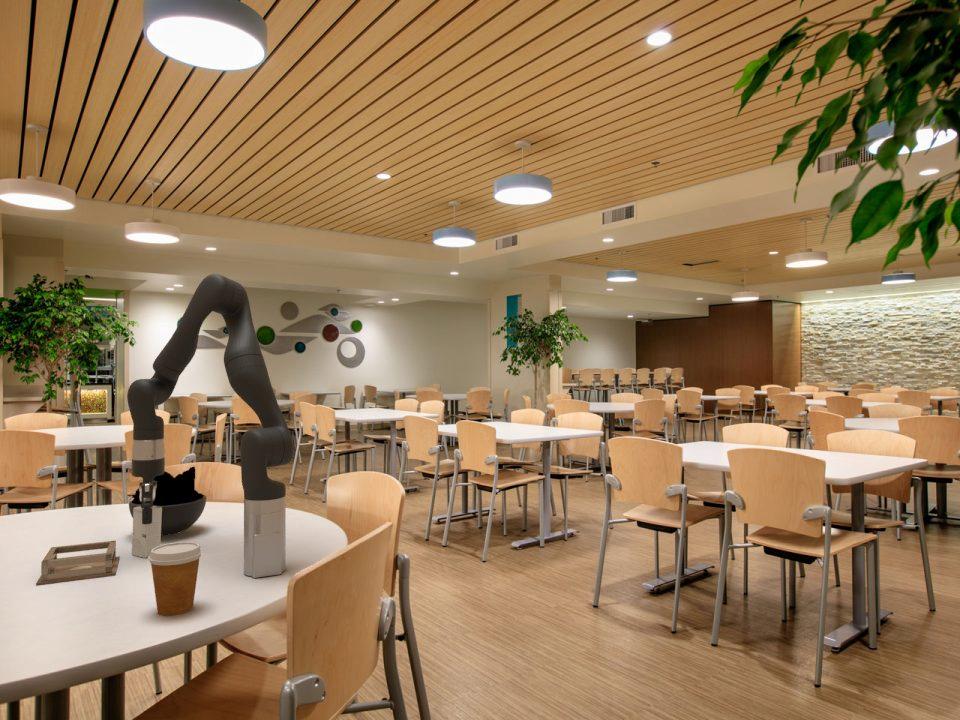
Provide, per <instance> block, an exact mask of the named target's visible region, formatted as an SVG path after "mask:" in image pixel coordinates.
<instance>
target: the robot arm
mask: <svg viewBox="0 0 960 720" xmlns="http://www.w3.org/2000/svg"><path fill="white" fill-rule="evenodd" d="M212 312H214V313H217V314H220V315H221V317H222V318H223V320H224V323H225V326H226V329H227V334H228V339H227V343H226V347H225V349H224V355H223V365H224V369H225V373H226V376H227V379H228V383H229V385H230V387H231V388H232V390H233V391H234V392H235V394H236V395H237V396H239V398H240V399H241V400H242V401H243V402H244V403H245V404H246V405H248V406H249V408H250V409H251V410H252V411H253V412H254V413H255V414H256V416H257V417H258V420H259V421H260V424H261V428H251V429H248V430H246V431H245V432H244V433H243V435H242V436H241V441H240V446H239V449H240V450H239V451H240V452H239V455H240V467H241V469H240V473H241V485H242V490H243V497H244V498H243V574H244V575H245V576H248V577H252V578H253V579H256V578H263V577H269V576H276V575H277V576H278V575H282V573H283V572H284V571H285V570H286V562H287V561H286V560H287V558H286V556H287V555H286V534H287V532H286V530H287V529H286V528H287V527H286V522H287V518H286V508H287V507H286V505H287V504H286V503H287V502H286V501H287V498H286V497H287V496H286V494H287V493H286V490H287V489H286V484H285V483H284V482H283V481H278V480H274V479H272V478H271V477H269V476H268V468H273V467H279V466H284V465H287V464H288V463H290V462H291V461H292V460H293V457H294V452H295V451H294V441H293V437H292V434H291V432H290V429H289V427H288V424H287V422H286V419H285V416H284V414H283V412H282V410H281V408H280V405H279V403H278V400H277V398H276V394H275V391H274V389H273V386H272V385H273V384H272V382H271V380H270V375H269V372H268V367H267V364H266V361H265V358H264V355H263V353H262V350H261V347H260V344H259V340H258V336H257V332H256V330H255V326H254V322H253V315H252V310H251V305H250V300H249V296H248V293H247V290H246V288H245V287H244V286H243V285H242V284H241V283H239V282H237V281H235V280H234V279H232V278H228V277H227V276H224V275H221V274H219V273H211V274H209V275H207V276H205V277H204V278H203V279H202V280H201V281H200V282H199V284H198V286H197V287H196V289H195V291H194V293H193V295H192V297H191V299H190V300H189V303H188V304H187V307H186V309H185V310H184V312H183V315H182V317H181V319H180V321H179V323H178V325H177V327H176V329H175V331H174V332H173V334H172V335H171V337H170V338H169V340H168V342H167V343H166V344H165V345H164V346H163V348H162V349H161V351H160V352H159V353H158V355H157V356H156V358H155V359H154V361H153V363H152V369H153V371H154V374H153V375H152V376H151V378H139V379H136V380H134V381H133V382H131V384H130V385H129V386H128V390H127V395H126V398H127V405H128V410H129V413H130V414H129V415H130V417H131V420H132V423H133V426H132V446H131V476H132V477H134V478H142V481H140V482H139V484H138V488H139V491H140V501H141V508H142V524H151V523H152V509H153V501H154V500H155V495H156V489H157V481H154V479H155V477H154V476H160V475H163V474H164V472H166V471H165V469H166V467H165V465H166V461H165V460H166V458H165V457H166V456H165V453H166V448H165V447H166V445H165V422H164V418H163V417H162V416H160V415H157V413H156V406H159V405H162V404H164V403H165V402H167V401H168V400H169V398H170V397H171V396H172V394H173V393H174V389H175V388H176V386H177V383H178V381H179V377H180V376H181V374H182V373H183V372H184V371H185V370H186V368H187V367H188V365H189V364H190V363H191V362H192V359H193V358H194V356H195V354H196V353H197V350H198V349H197V348H198V344H199V343H198V342H199V336H200V335H199V334H200V331H201V328H202V325H203V324H204V322H205V320H206V319H207V318H208V316H209V315H211V313H212ZM144 502H145V503H144Z"/></svg>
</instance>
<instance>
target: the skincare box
mask: <svg viewBox="0 0 960 720" xmlns="http://www.w3.org/2000/svg"><path fill="white" fill-rule="evenodd" d="M161 520H162V507H157V506H153V509H152V523H151V524H142V508H141V506H139V507H134V508H133V518H132V536H131V537H132V538H131V540H132V541H131V555H133V556H136V557H139V558H143V559H146V558H147V559H148V557H149V556H150V553H151V550H152V549H153V548H155V547H157V546H161V544H162V543H161V542H162V541H161V537H162V535H161Z"/></svg>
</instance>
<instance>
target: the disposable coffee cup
mask: <svg viewBox="0 0 960 720" xmlns="http://www.w3.org/2000/svg"><path fill="white" fill-rule="evenodd" d="M202 554H203V550H202V549H201V546H200V544H199V543H197V542H193V541H180V542H171V543H165V544H160V546H157V547H155V548H153V549H152V550H151V553H150V556H149V557H147V559H148V561H149V563H150V565H151V574H152V580H153V581H152V582H153V588H154V589H153V590H154V594H155V595H154V596H155V602H156V603H155V604H156V610H157V614H158V615H161V616H175V615H181V614H184V613H186V612H189V611H191V610H192V609H193V608H194V601H195V595H196V587H197V579H198V572H199V565H200V564H199V563H200V558H201V556H202Z"/></svg>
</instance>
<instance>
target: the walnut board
mask: <svg viewBox="0 0 960 720" xmlns="http://www.w3.org/2000/svg"><path fill="white" fill-rule="evenodd" d="M120 559H121V557H120V555H119V556H118V555H117V556H116V558H115V562H114V566H113V569H112V573H105V574H97V575H89V576H81V577H73V578H65V579H57V580H49V581H41V575H40V576H39V578H38V580H37V581H36V582H35V586H41V585H51V584H57V583H58V584H59V583H65V582H74V581H81V580H89V579H97V578H98V579H100V578H105V577H113V576H116V575H117V574H116V573H117V570H118V567H119V562H120ZM101 566H106V561H102V562H94V563H85V564H77V565H68V566H60V567H55V569H54V571H53V572H59V571H68V570H76V569H84V568H92V567H101Z"/></svg>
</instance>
